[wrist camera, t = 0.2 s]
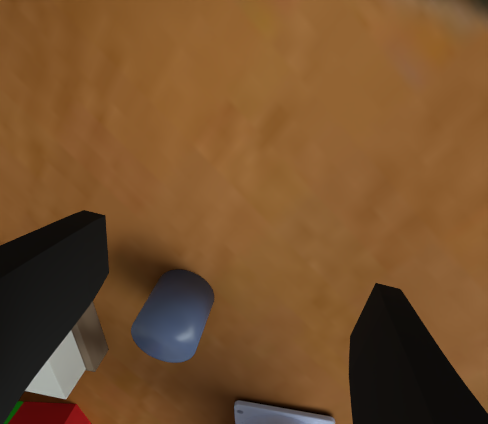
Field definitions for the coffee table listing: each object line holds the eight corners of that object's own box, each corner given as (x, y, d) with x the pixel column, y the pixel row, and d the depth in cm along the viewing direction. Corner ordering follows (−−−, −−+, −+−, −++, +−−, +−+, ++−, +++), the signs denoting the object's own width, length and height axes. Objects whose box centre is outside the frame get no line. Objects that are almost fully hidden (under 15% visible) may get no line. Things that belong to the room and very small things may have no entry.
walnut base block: (111, 345, 30) (95, 371, 28) (36, 333, 32) (16, 358, 29) (90, 281, 27) (70, 306, 25) (7, 271, 28) (-19, 294, 26)
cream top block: (86, 368, 28) (66, 399, 26) (18, 356, 29) (-6, 384, 27) (64, 313, 25) (40, 343, 23) (-10, 301, 26) (-40, 328, 24)
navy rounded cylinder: (216, 316, 25) (199, 367, 22) (162, 309, 26) (137, 357, 23) (212, 272, 23) (192, 320, 20) (153, 266, 24) (125, 311, 21)
